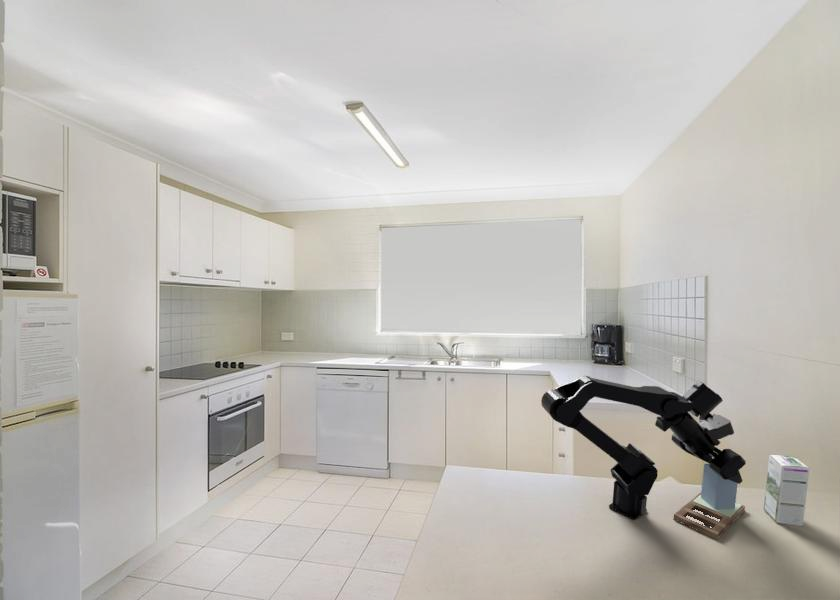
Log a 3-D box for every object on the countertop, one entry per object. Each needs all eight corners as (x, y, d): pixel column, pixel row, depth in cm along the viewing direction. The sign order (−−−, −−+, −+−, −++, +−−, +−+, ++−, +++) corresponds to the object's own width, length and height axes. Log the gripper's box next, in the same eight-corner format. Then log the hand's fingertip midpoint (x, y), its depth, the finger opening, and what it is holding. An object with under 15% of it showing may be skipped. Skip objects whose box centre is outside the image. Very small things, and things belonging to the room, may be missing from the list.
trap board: (673, 519, 105) (674, 513, 105) (703, 494, 116) (704, 489, 116) (716, 539, 98) (717, 533, 98) (744, 510, 109) (745, 505, 109)
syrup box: (804, 526, 103) (812, 467, 101) (775, 523, 104) (782, 464, 103) (789, 512, 109) (796, 456, 107) (761, 509, 110) (768, 453, 108)
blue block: (714, 509, 107) (718, 473, 106) (700, 497, 112) (704, 463, 111) (734, 508, 107) (738, 473, 106) (719, 497, 112) (723, 463, 111)
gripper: (742, 421, 97) (784, 469, 99) (686, 393, 116) (723, 433, 118) (703, 456, 98) (746, 502, 100) (654, 422, 116) (691, 462, 118)
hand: (726, 472), depth 109 cm, fingers open, 9 cm apart
